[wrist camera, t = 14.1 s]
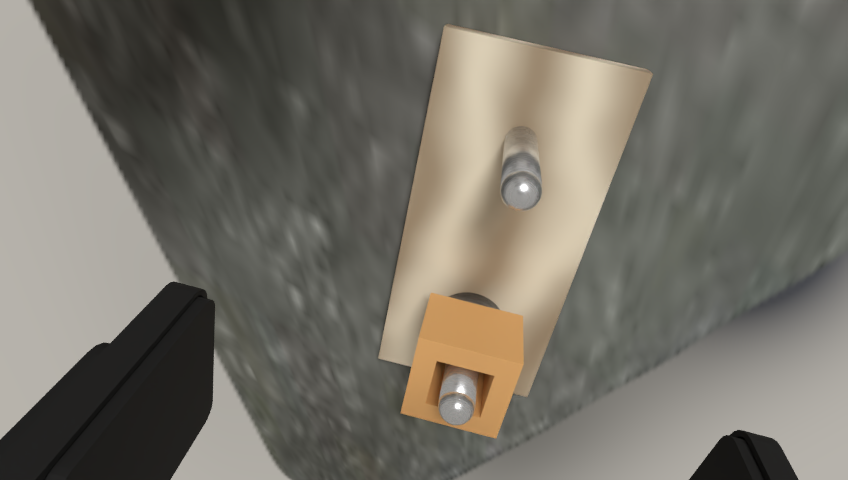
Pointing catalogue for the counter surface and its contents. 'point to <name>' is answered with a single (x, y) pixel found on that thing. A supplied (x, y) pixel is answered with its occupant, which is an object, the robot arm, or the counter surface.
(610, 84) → the board
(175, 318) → the robot arm
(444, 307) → the collar
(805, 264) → the counter surface
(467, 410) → the metal peg
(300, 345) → the counter surface
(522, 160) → the stand rod
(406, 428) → the counter surface
